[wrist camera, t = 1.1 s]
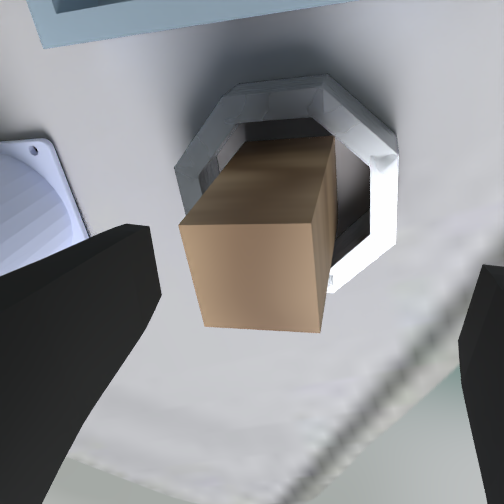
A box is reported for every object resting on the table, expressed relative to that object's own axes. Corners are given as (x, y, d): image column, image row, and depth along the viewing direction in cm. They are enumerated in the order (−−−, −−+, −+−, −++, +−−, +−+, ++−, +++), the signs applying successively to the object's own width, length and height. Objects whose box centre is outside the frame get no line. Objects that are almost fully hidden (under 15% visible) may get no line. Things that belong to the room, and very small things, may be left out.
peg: (257, 219, 21) (204, 326, 15) (245, 141, 19) (178, 225, 13) (338, 218, 20) (320, 332, 14) (334, 135, 18) (310, 223, 12)
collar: (218, 262, 23) (203, 289, 21) (181, 89, 19) (157, 103, 17) (392, 264, 21) (394, 295, 19) (398, 65, 16) (402, 78, 14)
